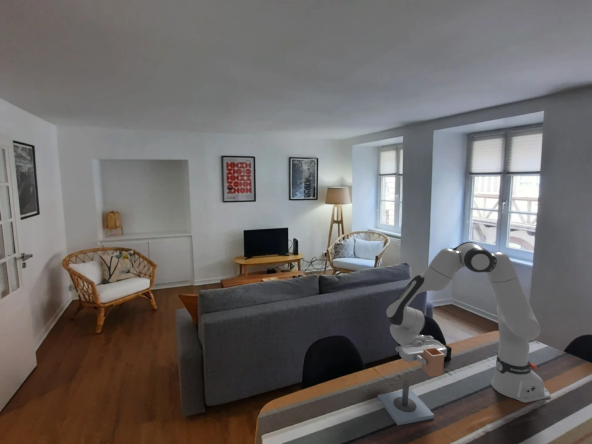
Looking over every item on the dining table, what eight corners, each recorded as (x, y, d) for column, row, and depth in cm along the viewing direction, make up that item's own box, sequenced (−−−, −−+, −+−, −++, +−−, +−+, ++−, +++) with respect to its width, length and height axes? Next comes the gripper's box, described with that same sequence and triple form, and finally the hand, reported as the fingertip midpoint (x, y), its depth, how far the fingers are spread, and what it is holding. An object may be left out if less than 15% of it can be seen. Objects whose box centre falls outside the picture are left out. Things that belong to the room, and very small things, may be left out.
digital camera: (426, 354, 177) (427, 342, 176) (432, 351, 180) (433, 339, 179) (444, 363, 168) (445, 350, 167) (450, 360, 171) (451, 347, 170)
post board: (410, 392, 146) (412, 366, 144) (433, 418, 130) (435, 389, 129) (377, 398, 142) (378, 371, 140) (397, 425, 127) (399, 396, 125)
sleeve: (433, 367, 138) (435, 347, 137) (442, 375, 133) (444, 354, 131) (421, 368, 137) (423, 348, 135) (430, 377, 131) (432, 356, 130)
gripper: (393, 340, 144) (412, 357, 130) (434, 335, 148) (456, 351, 135) (393, 353, 144) (411, 372, 131) (433, 348, 149) (455, 366, 136)
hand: (434, 361), depth 133 cm, fingers closed on sleeve, 6 cm apart
